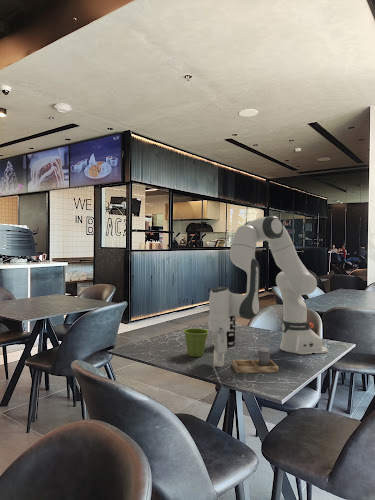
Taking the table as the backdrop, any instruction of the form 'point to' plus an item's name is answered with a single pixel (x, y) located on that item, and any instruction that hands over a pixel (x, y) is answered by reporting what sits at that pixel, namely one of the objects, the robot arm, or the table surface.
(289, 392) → the table surface
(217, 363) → the salt shaker
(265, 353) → the pepper shaker
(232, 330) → the spotted tube
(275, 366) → the caddy
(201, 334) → the plant pot
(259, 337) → the table surface
